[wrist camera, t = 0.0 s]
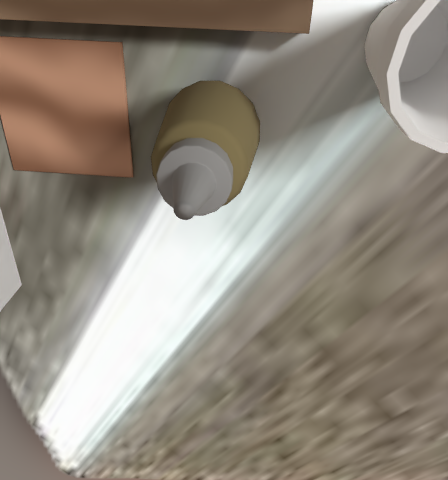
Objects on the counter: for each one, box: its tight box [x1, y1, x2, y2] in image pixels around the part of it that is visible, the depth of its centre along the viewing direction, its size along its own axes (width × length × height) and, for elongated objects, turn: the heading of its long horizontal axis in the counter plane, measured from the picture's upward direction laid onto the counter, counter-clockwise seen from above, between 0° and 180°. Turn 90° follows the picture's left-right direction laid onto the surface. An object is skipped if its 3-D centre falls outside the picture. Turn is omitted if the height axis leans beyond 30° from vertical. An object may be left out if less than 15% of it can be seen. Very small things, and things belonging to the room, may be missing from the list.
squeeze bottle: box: [151, 81, 260, 220], centre depth 29 cm, size 8×8×18 cm
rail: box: [0, 0, 313, 177], centre depth 35 cm, size 16×28×3 cm, turn 88°
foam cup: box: [364, 0, 448, 153], centre depth 27 cm, size 10×9×13 cm
